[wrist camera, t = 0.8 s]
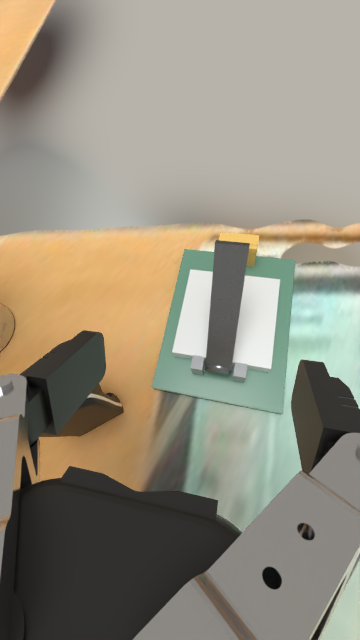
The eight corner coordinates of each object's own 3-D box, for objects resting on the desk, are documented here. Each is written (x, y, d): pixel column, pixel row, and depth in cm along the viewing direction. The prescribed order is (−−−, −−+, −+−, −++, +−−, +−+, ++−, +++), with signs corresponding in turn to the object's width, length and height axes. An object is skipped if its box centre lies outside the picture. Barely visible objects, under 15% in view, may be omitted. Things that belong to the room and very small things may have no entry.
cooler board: (280, 414, 35) (291, 409, 30) (153, 389, 38) (142, 380, 33) (293, 264, 42) (304, 237, 37) (185, 253, 46) (180, 227, 40)
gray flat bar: (231, 369, 35) (229, 377, 34) (206, 365, 36) (204, 373, 35) (249, 242, 26) (249, 247, 25) (216, 239, 27) (214, 244, 26)
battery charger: (115, 384, 39) (76, 366, 29) (126, 411, 38) (89, 401, 27) (68, 410, 39) (11, 401, 28) (77, 438, 37) (21, 438, 27)
